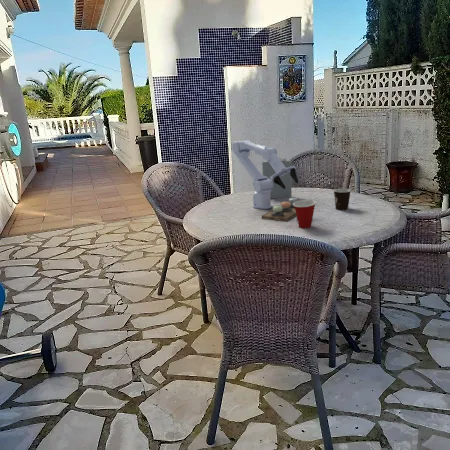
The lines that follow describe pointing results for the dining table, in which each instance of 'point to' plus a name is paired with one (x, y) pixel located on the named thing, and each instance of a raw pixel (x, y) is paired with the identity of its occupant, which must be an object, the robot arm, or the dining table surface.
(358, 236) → the dining table surface
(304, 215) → the plastic cup
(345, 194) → the coffee mug
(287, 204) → the terracotta button
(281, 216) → the button board
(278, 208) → the sage button
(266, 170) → the grey upright box
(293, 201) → the slate button
